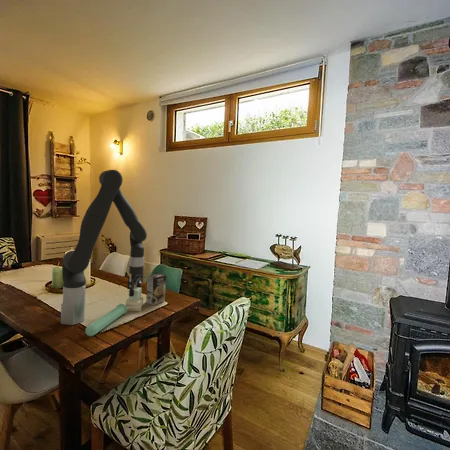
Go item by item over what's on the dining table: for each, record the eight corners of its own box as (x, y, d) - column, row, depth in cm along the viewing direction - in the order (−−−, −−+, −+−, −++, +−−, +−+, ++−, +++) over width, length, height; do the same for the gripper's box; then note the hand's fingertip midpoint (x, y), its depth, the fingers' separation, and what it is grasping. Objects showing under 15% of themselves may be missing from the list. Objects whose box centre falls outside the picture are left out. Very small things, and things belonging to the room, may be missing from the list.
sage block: (137, 301, 143) (137, 290, 142) (128, 300, 143) (128, 289, 143) (141, 298, 148) (141, 287, 147) (132, 297, 148) (133, 286, 148)
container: (92, 324, 112) (125, 302, 137) (80, 327, 114) (115, 304, 138) (96, 337, 112) (128, 313, 137) (84, 340, 114) (118, 315, 138)
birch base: (140, 311, 143) (141, 302, 143) (125, 311, 141) (125, 302, 141) (142, 305, 151) (143, 296, 150) (127, 305, 149) (128, 296, 149)
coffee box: (152, 305, 151) (154, 278, 150) (145, 302, 155) (147, 275, 153) (165, 301, 158) (166, 275, 157) (158, 298, 162) (159, 272, 161)
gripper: (135, 260, 151) (134, 288, 153) (123, 266, 137) (122, 297, 139) (148, 262, 151) (146, 290, 152) (137, 268, 137) (135, 298, 138)
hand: (135, 293), depth 145 cm, fingers open, 8 cm apart
